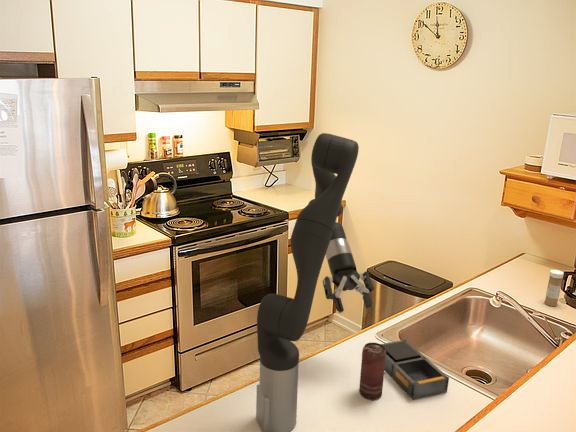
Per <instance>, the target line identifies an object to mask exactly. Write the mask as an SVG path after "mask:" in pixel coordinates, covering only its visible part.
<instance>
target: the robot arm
mask: <svg viewBox="0 0 576 432" xmlns="http://www.w3.org/2000/svg"><path fill="white" fill-rule="evenodd" d="M359 147H360V146H359V143H358V142H357V141H356V140H353V139H350V138H348V137H347V138H346V137H344V136H343V137H342V136H339V135H335V134H331V133H326V132H324V133H323V132H322V133H319V135H318V136H317V137H316V139H315V141H314V144H313V147H312V150H311V157H310V159H311V161H310V162H311V167H312V168H311V169H312V173H313V177H314V182H315V188H314V190H315V191H314V198H313V199H311V200H309V202H308V204H307V205H306V206H305V207H304V208H302V210H301V211H300V212H299V213H298V214H297V217H296V219H295V223H294V227H293V230H292V233H291V236H290V241H289V242H290V250H291V253H292V258H293V261H294V265H295V270H296V277H297V278H296V279H297V282H296V283H297V284H296V290H295V294H294V297H293V298H292V297H289V296H286V295H282V294H277V293H268V294H266V295H265V296H264V297H263V298H262V299H261V301H260V303H259V305H258V309H257V313H256V315H257V317H256V332H257V334H256V335H257V336H256V337H257V351H258V354H259V382H258V383H259V384H257V385H256V402H255V403H256V405H255V406H256V408H255V410H256V412H255V413H256V414H255V418H256V421H257V422H258V425H259V427H260V429H261V431H262V432H291V431H293V430H294V429H295V427H296V424H297V415H298V388H299V368H300V367H299V366H300V364H299V363H300V350H299V348H298V347H297V345H296V344H295V343H294V342H297V341H299V340H300V339H301V337H303V335H304V333H305V332H306V331H305V330H306V328H307V326H308V323H309V319H310V315H311V310H312V307H313V306H312V305H313V301H314V298H315V292H316V287H317V285H318V280H319V277H320V272H321V270H322V266H323V263H324V261H325V258H326V260H327V264H328V268H329V271H330V275H331V277H329V276H328V275H326V276H325V277H324V278H323V280H322V286H323V290H324V295H325V298H326V300H332V301H333V303H334V306H335V310H336V312H338V313H340V314H342V313H344V305H343V302H342V300H341V297H340V296H341V293H342V292H346V291H354V290H355V292H357V293H359V294H360V295H362V300H363V304H364V307H365V309H370V308H371V307H372V305H373V304H372V303H373V301H372V299H371V295H370V294H371V293H372V292H374V290H375V286H374V284H373V281H372V279H371V276H370V274H369V271H368V270H367V271H364V272H361V273H359V272H358V271H357V265H356V261H355V259H354V257H353V256H354V255H353V253H352V250H351V249H352V248H351V246H350V244H349V241H348V240H347V236H346V233H345V229H344V227H343V224H342V223H340V222H337V218H338V217H340V216H341V215H342V214H343V205H342V201H343V198H344V195H345V192H346V189H347V187H348V184H349V181H350V179H351V176H352V174H353V171H354V168H355V166H356V164H357V163H356V162H357V160H358V155H359ZM360 280H361V281H363V282H361V281H360ZM332 283H333V284H334V285H335V286H336V287H335V289H334V293H333V290H332Z"/></svg>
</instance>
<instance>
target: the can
mask: <svg viewBox="0 0 576 432" xmlns="http://www.w3.org/2000/svg"><path fill="white" fill-rule="evenodd" d="M381 344H382V343H378V342H368V343H366V344H364V345H363V347H362V349H361V350H362V351H361V365H360V377H359V389H358V391H359V395H360V396H361V397H362V398H364V399H366V400H370V401H374V400H378V399H380V398H381V396H382V395H383V388H384V377H385V371H384V369H385V358H386V350H385V347H384V346H383V345H381Z"/></svg>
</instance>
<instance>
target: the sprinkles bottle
mask: <svg viewBox="0 0 576 432" xmlns="http://www.w3.org/2000/svg"><path fill="white" fill-rule="evenodd" d="M563 278H564V272H563V271H562V270H559V269H550V271H549V277H548V283H547V284H548V285H547V288H546V292H545V299H544V304H545V305H547V306H549V307H557V306H558V302H559V298H560V297H559V296H560V292H561V287H562V283H563V282H562V280H563Z"/></svg>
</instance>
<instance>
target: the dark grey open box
mask: <svg viewBox="0 0 576 432" xmlns="http://www.w3.org/2000/svg"><path fill="white" fill-rule="evenodd" d="M380 344H381V345H383V346H384V347H385V350H386V358H385V369H384V373H386V374H387V375H388V377H390V378H391V379H392V380H393V381H394V382H395V383H396V384H397V386H399V388H401V389H402V391H404V393H405V394H406V395H407V396H408V397H409V398H410V399H411V400H412V401H414V400H420V399H423V398H429V397H432V396H436V395H440V394H441V395H442V394H445V393H448V387H449V381H450V377H449V376H448V375H447V374H446V373H444V372H443V371H442V370H441V369H439V368H438V367H437V366H436V365H435V364H434V363H433V362H431V360H430V359H428V358H427V357H426V356H425V355H424V354H422V353H421V351H419V350H418V349H417V348H416V347H415V346H413V345H412V344H411V343H410V342H409V341H408V340H407V339H403V340H397V341H391V342H385V343H380Z"/></svg>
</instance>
